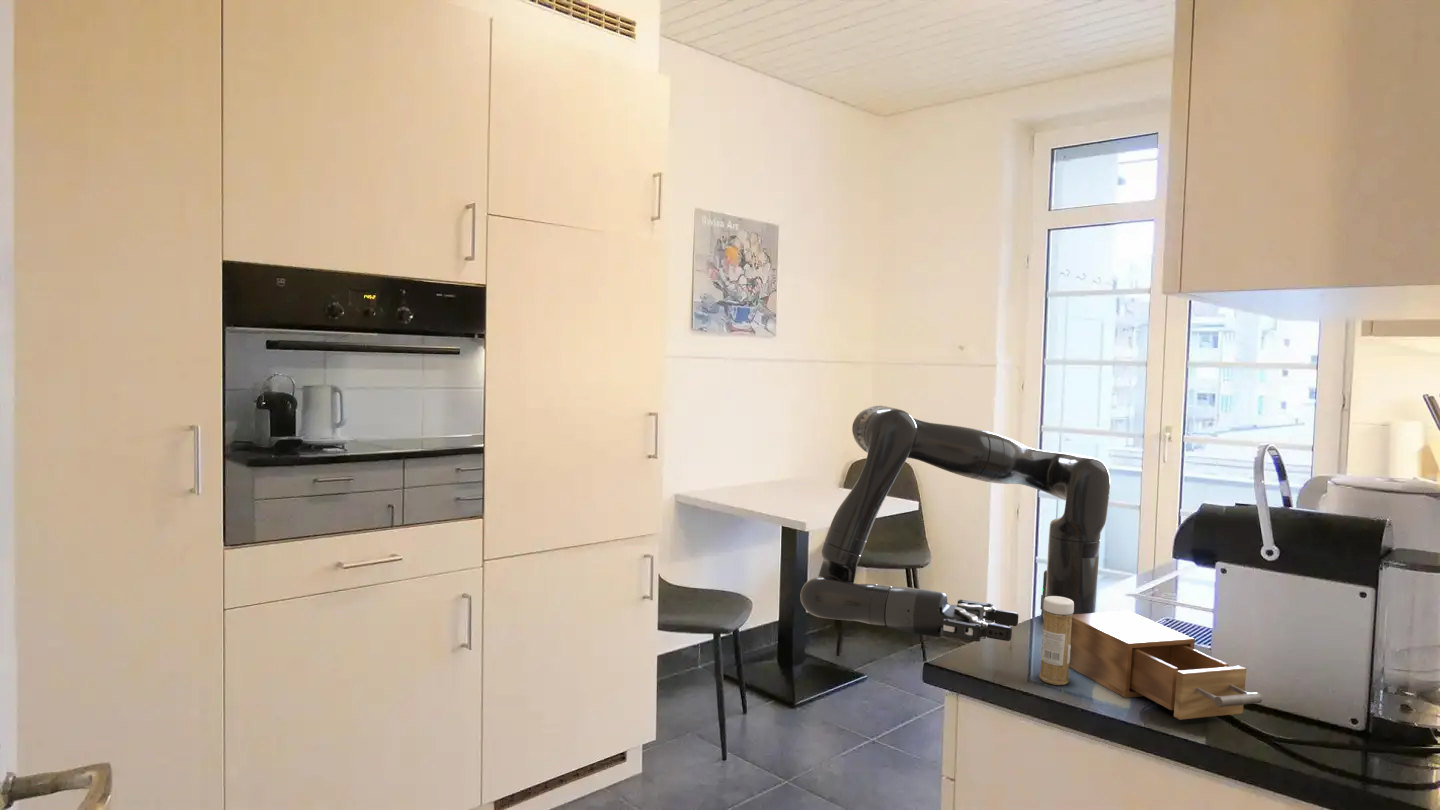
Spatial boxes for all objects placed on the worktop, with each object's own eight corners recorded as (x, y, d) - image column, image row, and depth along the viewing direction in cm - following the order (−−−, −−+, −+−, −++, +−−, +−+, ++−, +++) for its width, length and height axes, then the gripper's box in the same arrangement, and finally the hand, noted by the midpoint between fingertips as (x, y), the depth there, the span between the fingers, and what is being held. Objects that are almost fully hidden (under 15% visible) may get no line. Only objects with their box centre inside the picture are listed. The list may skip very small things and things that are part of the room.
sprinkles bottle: (1074, 682, 142) (1080, 600, 141) (1057, 688, 139) (1062, 604, 139) (1050, 673, 146) (1055, 593, 145) (1032, 678, 143) (1037, 597, 142)
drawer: (1272, 727, 125) (1276, 681, 125) (1207, 734, 122) (1210, 687, 122) (1172, 678, 143) (1175, 637, 142) (1113, 684, 140) (1116, 642, 139)
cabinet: (1191, 691, 140) (1195, 638, 139) (1124, 697, 137) (1128, 643, 136) (1125, 659, 154) (1128, 610, 153) (1063, 663, 151) (1067, 614, 150)
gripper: (907, 599, 145) (1010, 616, 138) (926, 579, 158) (1021, 593, 151) (905, 644, 145) (1007, 662, 139) (924, 621, 158) (1018, 636, 152)
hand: (1014, 626), depth 145 cm, fingers open, 8 cm apart
